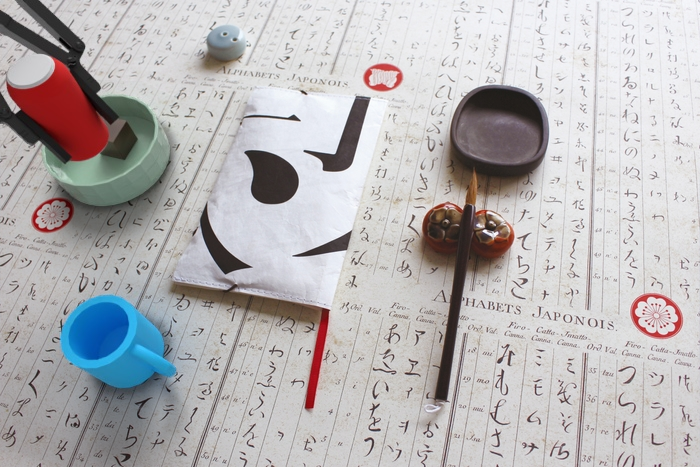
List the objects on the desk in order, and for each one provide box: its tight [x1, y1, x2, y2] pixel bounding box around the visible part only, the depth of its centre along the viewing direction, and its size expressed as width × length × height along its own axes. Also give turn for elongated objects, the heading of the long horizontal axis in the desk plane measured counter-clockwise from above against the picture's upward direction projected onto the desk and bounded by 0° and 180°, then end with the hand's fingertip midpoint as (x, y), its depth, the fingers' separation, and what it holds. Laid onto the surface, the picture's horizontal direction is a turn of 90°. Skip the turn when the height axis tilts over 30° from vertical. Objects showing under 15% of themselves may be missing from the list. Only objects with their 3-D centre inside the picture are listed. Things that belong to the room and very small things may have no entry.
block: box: [100, 116, 138, 160], centre depth 79 cm, size 4×4×4 cm
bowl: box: [41, 93, 171, 207], centre depth 78 cm, size 16×16×5 cm
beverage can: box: [5, 53, 109, 162], centre depth 60 cm, size 6×6×12 cm
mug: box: [59, 294, 178, 389], centre depth 62 cm, size 12×8×8 cm
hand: (91, 140), depth 61 cm, fingers closed on beverage can, 6 cm apart
